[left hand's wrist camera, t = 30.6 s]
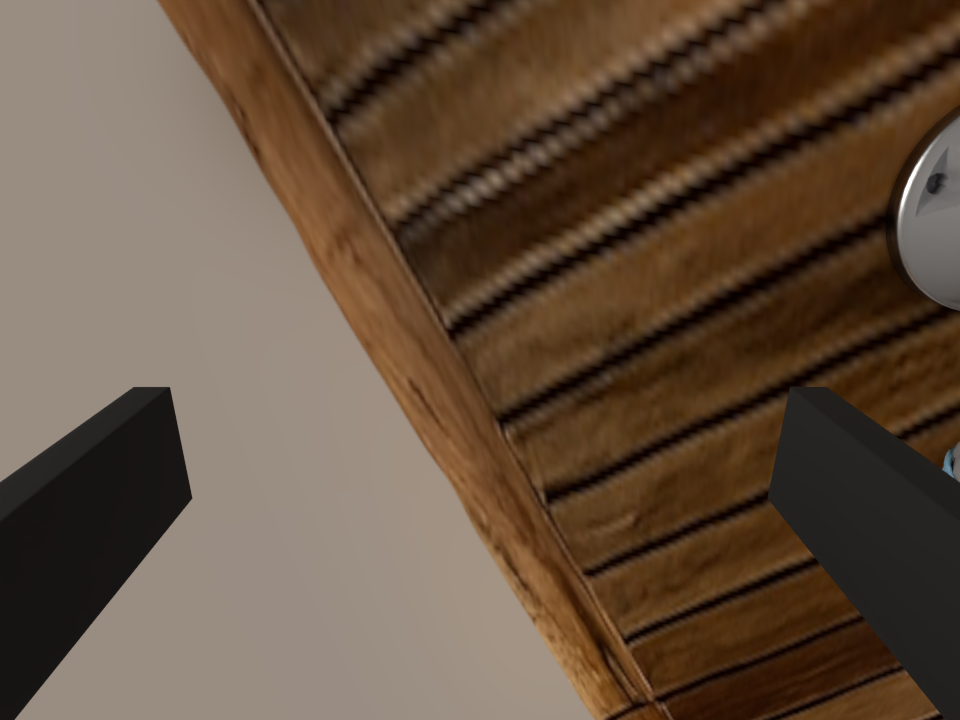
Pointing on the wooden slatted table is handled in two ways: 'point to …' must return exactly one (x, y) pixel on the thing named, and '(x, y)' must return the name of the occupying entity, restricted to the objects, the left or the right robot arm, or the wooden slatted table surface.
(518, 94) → the wooden slatted table surface
